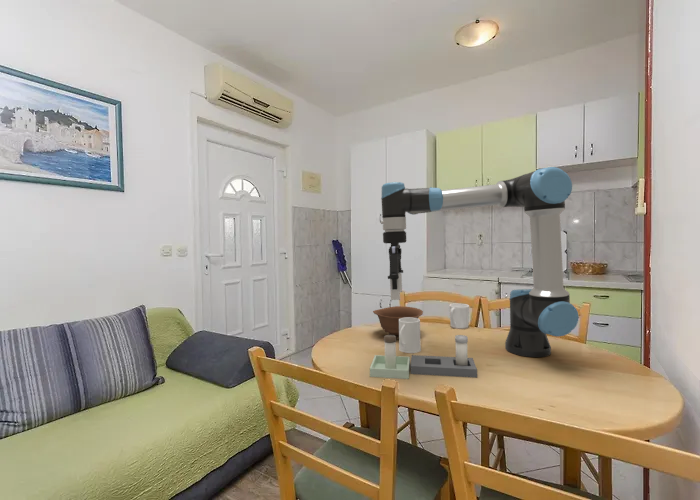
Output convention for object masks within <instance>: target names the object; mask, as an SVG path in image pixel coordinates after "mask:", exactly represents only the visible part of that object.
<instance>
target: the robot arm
mask: <svg viewBox="0 0 700 500" xmlns="http://www.w3.org/2000/svg"><path fill="white" fill-rule="evenodd" d="M572 191H573V183H572V180H571V177H570V176H569V174H568V173H567V172H566V171H564V170H563V169H562V168H559V167H555V166H548V167H542V168H539V169H536V170H534V171H531V172H529V173H525V174H522V175H519V176H515V177H514V178H509V179H506V180H499V181H497V182H496V183H495V184H486V185H485V184H484V185H478V186H477V185H476V186H468V187H460V188H459V187H458V188H450V189H449V188H447V189H441V188H440V187H431V186H430V187H420V188H419V187H418V188H406V187H405V183H404V182H401V181H398V182H397V181H393V182H386V183H384V184H382V186H381V198H380V200H381V212H382V213H381V214H382V215H381V216H382V220H381V221H380V224H381V225H382V230H383V231H384V232H383V233H382V241H383V242H382V243H384V244H390V246H389V247H388V255H389V256H388V257H389V258H388V259H389V275H387V279H388V280H389V283H390V285H389V286H390V300H391V301H399V300H401V295H400V293H403V283H402V281H403V279H402V274H403V273H404V270H403V268H402V262H401V259H402V248H401V245H400V244H404V243H407V232H406V230H407V217H406V213H408V214H410V215H418V214H426V213H428V214H429V213H434V212H445V211H454V210H463V209H472V208H481V207H482V208H483V207H484V208H485V207H493V206H497V207H498V208H510V207H511V208H523V209H524V214H525V215H528V216H527V217H529V224H530V225H529V227H530V243H531V261H532V262H531V263H532V276H533V277H532V279H533V281H532V282H533V288H524V289H512V290H511V291H510V293H509V323H510V324H509V331H508V332H507V337H506V339H505V341H504V342H505V343H504V344H505V346H504V347H505V350H506V351H507V352H509V353H511V354H514V355H518V356H521V357H528V358H545V357H548V356H550V355H551V354H552V347H551V344H550V342H549V341H550V340H549V338H548V335H549V336H553V337H563V336H567V335H569V334H570V333H571V332H572V331H573V330H574V329H575V328H576V327H577V325H578V323H579V319H580V318H579V317H580V316H579V311H578V309H577V308H576V307H575V305H573V304H572V303H571V301H570V292H569V291H567V289H565V288H564V272H563V271H564V270H563V269H564V268H563V251H562V250H563V249H562V234H561V233H562V231H561V213H562V212H564V210H565V209H566V200H568V199H569V197H570V196H571V194H572Z"/></svg>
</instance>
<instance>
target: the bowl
mask: <svg viewBox="0 0 700 500" xmlns="http://www.w3.org/2000/svg"><path fill="white" fill-rule="evenodd" d="M372 312H373V314H374V315H376V316H377V318H378V319H379V320H378V321H379V324H380V327H381V328H382V330H383V331H384V332H386V333H388V334H387V335H394V336H396V339H399V319H400V318H405V317H413V318H418V319H419V318H420V317H421V316H422V315H424V314H423V313H424V310H422V309H420V308H417V307H413V306H403V305H402V306H399V305H397V306H396V305H395V306H388V307H384V308H383V307H382V308H380V309H375V310H373V311H372Z"/></svg>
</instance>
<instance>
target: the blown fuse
mask: <svg viewBox="0 0 700 500" xmlns="http://www.w3.org/2000/svg"><path fill="white" fill-rule="evenodd" d="M383 342H384V343H383V344H384V356H385V369H396V356H397V348H396V347H397V346H396V345H397V343H396V342H397V338H396V336H394V335H388V334H386V335H384V336H383Z"/></svg>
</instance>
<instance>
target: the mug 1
mask: <svg viewBox="0 0 700 500" xmlns="http://www.w3.org/2000/svg"><path fill="white" fill-rule="evenodd" d="M398 340H399V341H398V346H399V347H398V350H399V351H400V353H401V352H402V353H406V354H417V353H419V352H421V351H422V345H421V320H420V318H419V317H418V318H413V317H405V318H400V319H399V338H398Z"/></svg>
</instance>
